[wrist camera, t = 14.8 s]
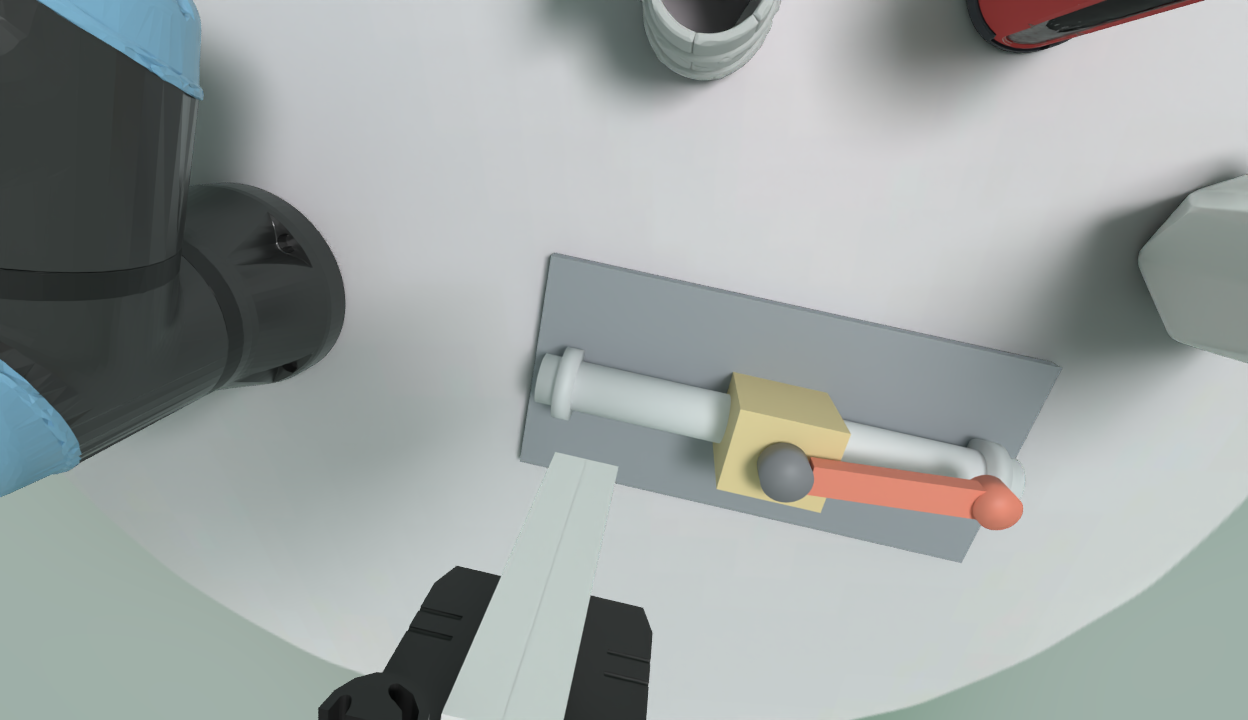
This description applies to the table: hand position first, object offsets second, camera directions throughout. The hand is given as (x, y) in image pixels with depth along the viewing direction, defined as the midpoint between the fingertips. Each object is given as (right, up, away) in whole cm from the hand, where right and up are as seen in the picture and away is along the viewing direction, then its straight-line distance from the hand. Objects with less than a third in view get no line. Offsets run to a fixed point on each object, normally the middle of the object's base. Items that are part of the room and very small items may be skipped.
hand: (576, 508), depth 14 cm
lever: (+17, -4, +23) cm, 29 cm away
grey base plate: (+12, 0, +30) cm, 33 cm away
